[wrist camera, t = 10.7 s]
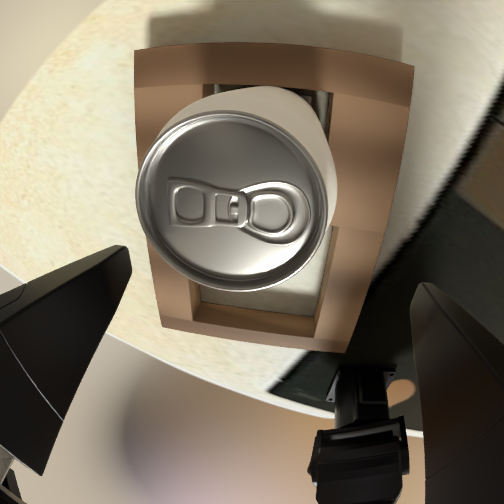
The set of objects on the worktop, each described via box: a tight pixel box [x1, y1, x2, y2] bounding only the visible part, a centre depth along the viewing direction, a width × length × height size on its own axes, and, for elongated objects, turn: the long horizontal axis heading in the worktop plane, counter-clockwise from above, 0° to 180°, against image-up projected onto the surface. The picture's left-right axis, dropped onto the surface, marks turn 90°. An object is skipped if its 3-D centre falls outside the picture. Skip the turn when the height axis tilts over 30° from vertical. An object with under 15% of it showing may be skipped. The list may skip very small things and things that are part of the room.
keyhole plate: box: [134, 42, 414, 353], centre depth 21 cm, size 22×16×2 cm
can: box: [135, 86, 337, 292], centre depth 14 cm, size 6×6×12 cm
